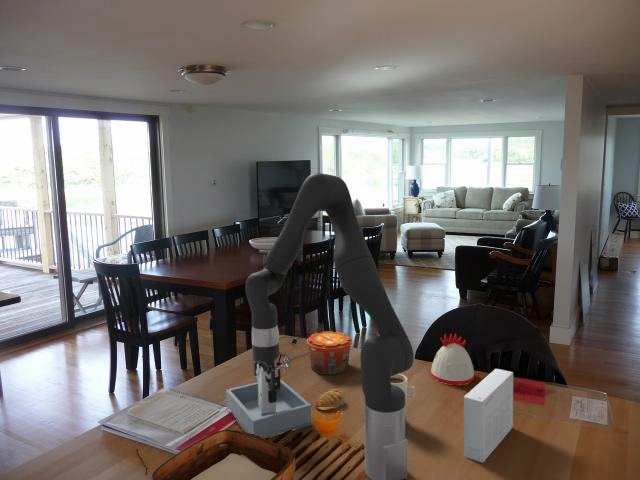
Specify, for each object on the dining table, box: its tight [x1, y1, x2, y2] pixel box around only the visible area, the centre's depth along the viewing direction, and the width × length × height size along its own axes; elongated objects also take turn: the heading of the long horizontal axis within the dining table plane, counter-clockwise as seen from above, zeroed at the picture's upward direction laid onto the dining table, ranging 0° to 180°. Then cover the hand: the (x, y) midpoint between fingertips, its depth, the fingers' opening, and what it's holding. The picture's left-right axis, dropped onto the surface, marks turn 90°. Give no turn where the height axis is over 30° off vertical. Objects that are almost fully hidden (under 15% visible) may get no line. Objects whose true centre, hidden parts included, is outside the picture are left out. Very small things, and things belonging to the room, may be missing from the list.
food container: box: [306, 330, 353, 375], centre depth 181 cm, size 16×16×11 cm
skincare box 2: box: [463, 368, 514, 464], centre depth 133 cm, size 21×5×16 cm, turn 141°
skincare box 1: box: [257, 368, 276, 413], centre depth 146 cm, size 6×4×12 cm
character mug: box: [391, 373, 416, 422], centre depth 143 cm, size 11×7×13 cm, turn 77°
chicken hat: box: [430, 333, 475, 386], centre depth 172 cm, size 14×14×15 cm
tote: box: [225, 378, 312, 438], centre depth 147 cm, size 21×17×6 cm
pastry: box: [315, 388, 347, 409], centre depth 154 cm, size 9×7×4 cm
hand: (267, 397), depth 147 cm, fingers closed on skincare box 1, 6 cm apart
